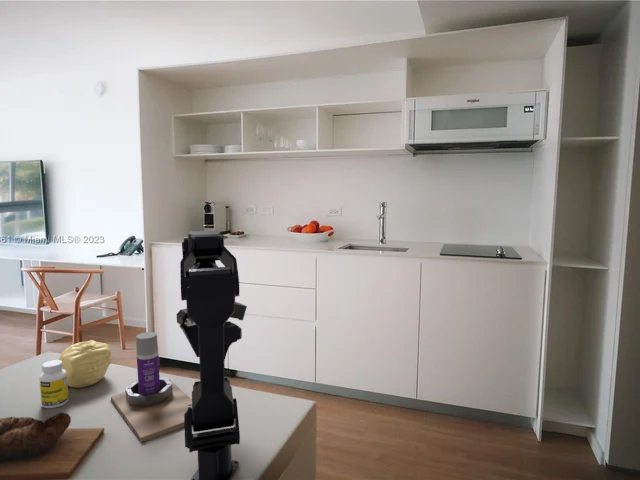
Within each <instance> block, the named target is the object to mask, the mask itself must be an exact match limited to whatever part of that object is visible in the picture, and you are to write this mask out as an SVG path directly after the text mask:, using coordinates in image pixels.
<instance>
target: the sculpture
mask: <svg viewBox="0 0 640 480" xmlns="http://www.w3.org/2000/svg"><path fill="white" fill-rule="evenodd" d="M111 353H112V351H111V349H110V345H109V344H108V343H104V342H101V341H95V340H93V339H90V340H88V341H80V342H76V343H74V344H72V345H70V346H68V347H67V348H66V349H64V350H63V351H62V352H61V354H60V356H59V357H58V360H61V361H62V364H63V368H62V369H64V370H66V373H67V383H68V387H69V388H70V387H71V388H77V389H78V388H84V387H85V388H86V387H89V386H92V385H94V384H97V383H99V382H100V381H101V380H102V379H103V378H104V376H105V375H106V373H107V371H108V369H109V366H110V365H111V364H112V363H111V362H112V359H111V356H112V354H111Z"/></svg>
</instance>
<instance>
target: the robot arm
mask: <svg viewBox="0 0 640 480" xmlns="http://www.w3.org/2000/svg"><path fill="white" fill-rule="evenodd" d="M187 234H188V235H187V236H184V238H183V241H182V242H181V249H182V250H181V252H182V259H181V260H180V263H179V264H180V266H179V267H180V268H179V269H180V271H179V272H180V299H181V301H186V308H183V309H180V310H178V312H177V313H176V314H175V315H176V323H177V324H178V325H179V328H180V329H181V331H182V332H183V334H184V335H185V336H184V337H186V340H187V341H188V343H189V344H190V345H189V346H190V347H191V350H192V351H193V353H194V354H195V356H196V357H197V358H199V381H195V382H194V383H193V385H192V391H191V399H192V404H190V405H188V409H187V411H186V413H185V414H184V427H183V428H184V447H185V448H187V449H188V451H189V453H193V452H197V467H198V468H197V470H196V471H195V473H194V474H193V475H192V476H191V478H190V480H232V477H233V476H234V474H235V472H236V470H237V469H238V468H239V465H240V462H239V460H232V457H233V456H232V445H233V446H234V445H240V444H241V442H240V441H241V440H240V439H241V434H240V423H239V411H238V401H237V398H236V397H235V398H234V397H233V389H232V387H233V386H231V381H230V380H229V378H228V377H225V375H226V374H225V373H226V372H225V370H226V369H225V364H226V363H225V360H226V357H227V354H228V350H229V348H230V347H231V345H232V344H233V343H236V342H237V341H239V340H241V339H242V338H243V335H242V330H243V329H242V328H241V326H239V325H238V324H236V323H234V322H231V321H229V319H230V318H231V319H236V320H238V321H243V320H244V318H245V316H246V315H245V314H246V311H247V307H248V306H247V305H245V304H242V303H240V302H237V301H236V297H239V296H240V277H239V268H238V263H237V262H238V260H237V258H236V256H234V254H233V253H232V252H230V250H228V248H227V247H226V246H225V240H224V235H223V234H221V232H220V230H218V229H217V230H197V231H196V230H195V231H194V230H193V231H191V230H190V231H188V233H187ZM217 261H220V263H221V264H222V265H223V266H218V264H217V263H216V262H217ZM193 432H194V433H193Z"/></svg>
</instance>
